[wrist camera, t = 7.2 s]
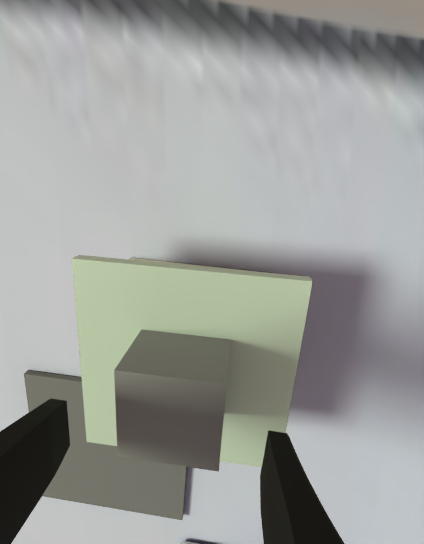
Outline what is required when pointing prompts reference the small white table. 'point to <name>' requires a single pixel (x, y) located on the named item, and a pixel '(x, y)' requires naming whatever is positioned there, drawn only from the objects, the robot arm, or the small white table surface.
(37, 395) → the mat
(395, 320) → the small white table surface
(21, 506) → the robot arm
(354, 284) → the small white table surface
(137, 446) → the lid
